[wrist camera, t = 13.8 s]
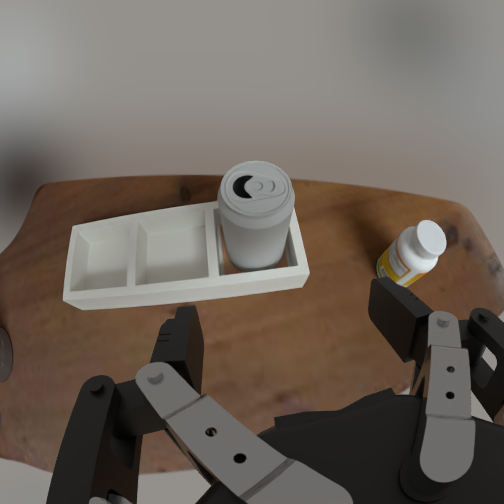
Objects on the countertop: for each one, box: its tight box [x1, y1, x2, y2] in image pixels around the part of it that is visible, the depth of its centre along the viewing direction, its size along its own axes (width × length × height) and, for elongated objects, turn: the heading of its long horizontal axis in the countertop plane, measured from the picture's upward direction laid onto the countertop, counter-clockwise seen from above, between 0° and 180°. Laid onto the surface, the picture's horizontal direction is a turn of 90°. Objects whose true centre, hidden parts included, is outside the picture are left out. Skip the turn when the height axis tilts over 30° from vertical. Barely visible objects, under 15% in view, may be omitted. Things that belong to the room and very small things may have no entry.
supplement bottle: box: [377, 220, 446, 288], centre depth 28 cm, size 5×5×10 cm
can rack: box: [63, 200, 310, 310], centre depth 31 cm, size 28×10×4 cm, turn 98°
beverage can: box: [217, 161, 295, 273], centre depth 27 cm, size 6×6×12 cm
